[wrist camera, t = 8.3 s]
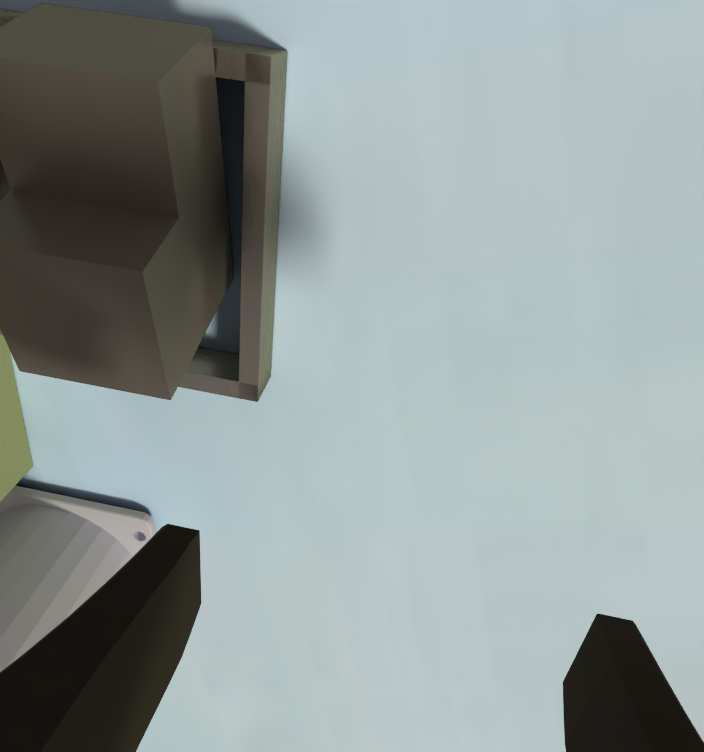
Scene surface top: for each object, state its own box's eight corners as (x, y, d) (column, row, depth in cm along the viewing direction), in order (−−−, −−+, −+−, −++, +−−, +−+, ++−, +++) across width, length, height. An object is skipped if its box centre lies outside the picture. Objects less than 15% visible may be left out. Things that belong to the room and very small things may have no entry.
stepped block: (233, 277, 19) (170, 400, 16) (107, 255, 20) (19, 370, 16) (211, 27, 14) (110, 129, 11) (40, 2, 14) (-110, 94, 11)
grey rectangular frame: (270, 376, 21) (257, 401, 20) (4, 326, 22) (-25, 348, 20) (287, 50, 16) (271, 56, 14) (-63, 0, 16) (-109, 1, 15)
